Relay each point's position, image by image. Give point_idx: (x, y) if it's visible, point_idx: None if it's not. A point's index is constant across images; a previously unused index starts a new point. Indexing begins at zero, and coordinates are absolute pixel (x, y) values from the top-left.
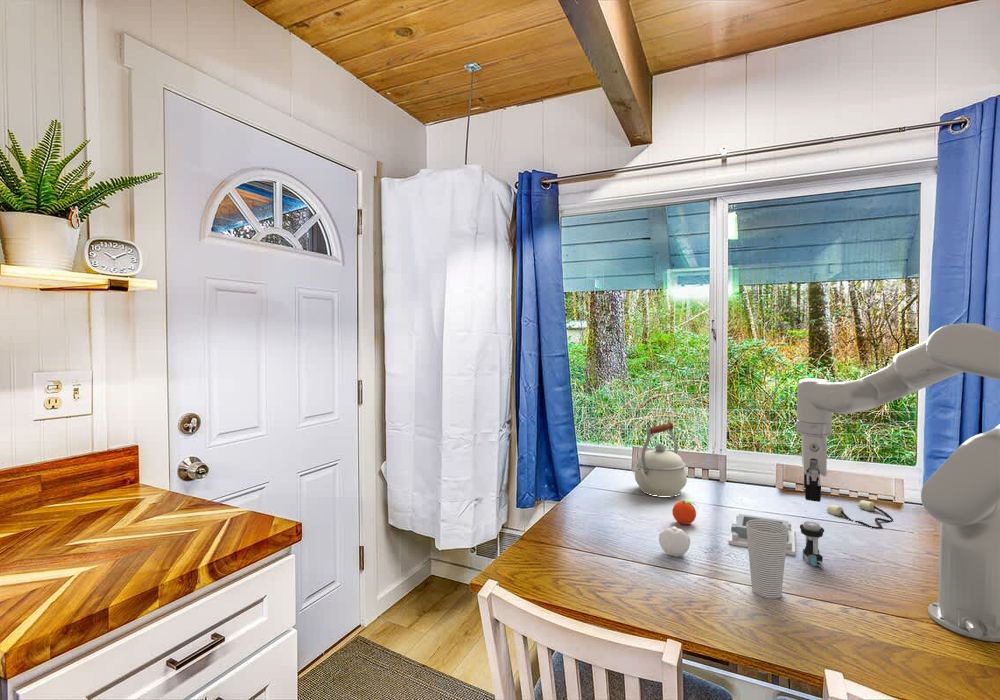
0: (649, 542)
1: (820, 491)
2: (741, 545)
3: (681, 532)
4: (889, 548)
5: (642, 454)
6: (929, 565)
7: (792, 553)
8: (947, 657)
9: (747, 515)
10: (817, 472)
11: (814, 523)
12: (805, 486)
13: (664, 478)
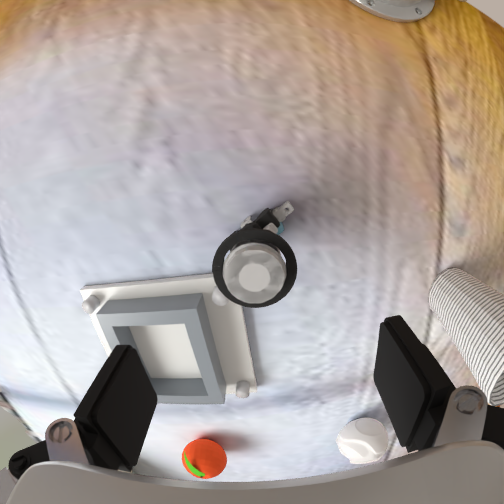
0: (323, 451)
1: (427, 356)
2: (253, 369)
3: (378, 449)
4: (56, 91)
5: None
6: (111, 13)
7: None
8: (494, 51)
9: None
10: (81, 438)
11: (241, 270)
12: (154, 402)
13: None
